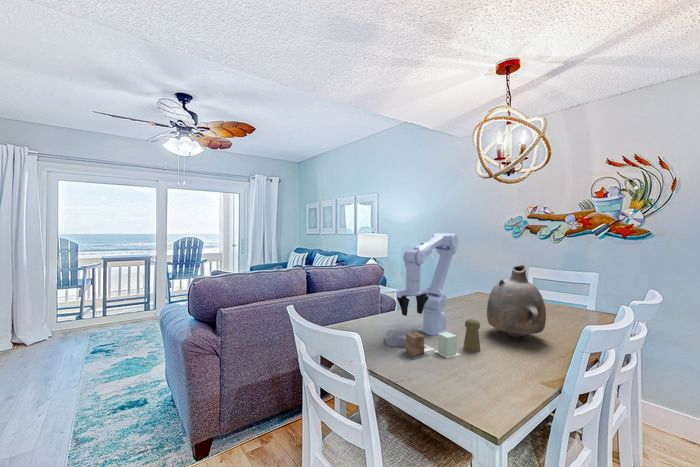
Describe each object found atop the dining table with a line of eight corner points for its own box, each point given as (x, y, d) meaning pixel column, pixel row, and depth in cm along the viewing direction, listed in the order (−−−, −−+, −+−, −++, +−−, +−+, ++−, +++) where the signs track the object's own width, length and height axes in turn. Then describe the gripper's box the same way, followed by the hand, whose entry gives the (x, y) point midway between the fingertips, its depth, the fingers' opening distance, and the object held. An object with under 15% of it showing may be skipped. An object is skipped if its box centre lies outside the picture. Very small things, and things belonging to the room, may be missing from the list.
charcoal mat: (415, 348, 112) (415, 347, 112) (429, 356, 106) (429, 355, 106) (400, 352, 109) (400, 351, 109) (413, 360, 103) (413, 358, 103)
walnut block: (415, 349, 110) (416, 332, 110) (424, 354, 106) (424, 336, 106) (405, 352, 108) (406, 333, 108) (413, 356, 104) (414, 338, 104)
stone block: (385, 351, 114) (412, 348, 113) (382, 338, 115) (409, 335, 113) (387, 341, 126) (411, 338, 124) (385, 329, 126) (409, 326, 125)
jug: (472, 331, 132) (474, 262, 132) (504, 324, 142) (506, 260, 141) (527, 352, 111) (529, 270, 110) (561, 343, 120) (563, 267, 120)
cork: (480, 347, 115) (480, 318, 114) (481, 353, 109) (482, 323, 109) (462, 345, 117) (463, 316, 116) (463, 351, 111) (464, 321, 111)
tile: (446, 348, 113) (446, 348, 113) (460, 355, 108) (460, 354, 108) (433, 351, 110) (433, 351, 110) (447, 358, 104) (447, 358, 104)
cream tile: (422, 343, 117) (422, 343, 117) (434, 349, 112) (434, 349, 112) (409, 346, 114) (409, 346, 114) (421, 353, 109) (421, 352, 109)
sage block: (446, 349, 112) (447, 331, 112) (456, 354, 108) (456, 335, 108) (437, 351, 110) (438, 333, 110) (447, 356, 106) (447, 337, 106)
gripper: (405, 282, 113) (403, 319, 114) (434, 280, 120) (433, 314, 120) (393, 279, 120) (392, 314, 120) (422, 277, 126) (420, 310, 127)
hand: (412, 314), depth 121 cm, fingers open, 7 cm apart
